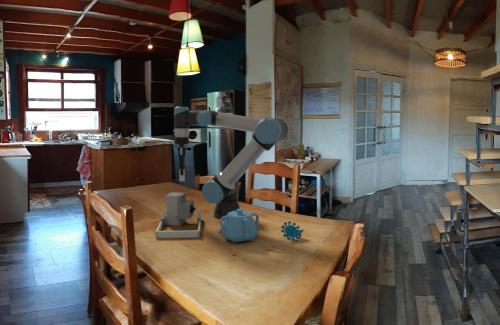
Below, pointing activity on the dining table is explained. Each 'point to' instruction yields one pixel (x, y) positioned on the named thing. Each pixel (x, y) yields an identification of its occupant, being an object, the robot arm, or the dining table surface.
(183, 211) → the circuit breaker
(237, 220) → the decorative pot
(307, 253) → the dining table surface
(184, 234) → the parts bay
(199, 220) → the dark gray open bay
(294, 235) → the teal spiky ornament
